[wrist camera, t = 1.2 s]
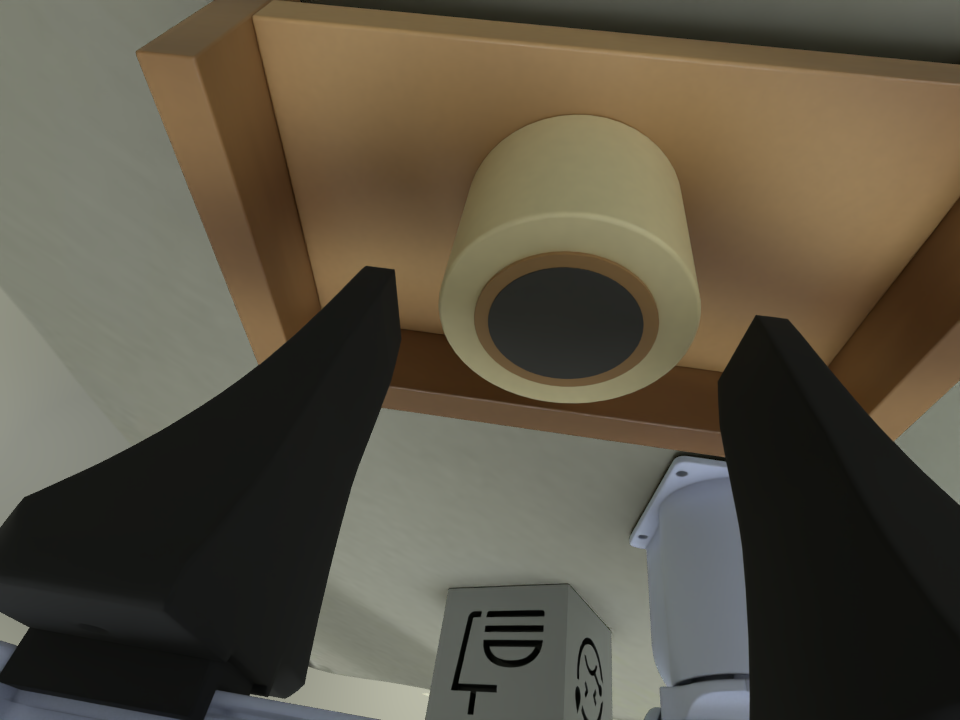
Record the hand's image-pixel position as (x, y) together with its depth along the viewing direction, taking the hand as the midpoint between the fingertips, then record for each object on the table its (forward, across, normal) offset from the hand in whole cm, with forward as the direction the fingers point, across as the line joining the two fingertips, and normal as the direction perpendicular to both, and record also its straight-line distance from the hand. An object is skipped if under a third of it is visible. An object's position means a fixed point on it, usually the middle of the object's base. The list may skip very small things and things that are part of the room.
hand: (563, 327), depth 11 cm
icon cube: (+7, -3, +39) cm, 39 cm away
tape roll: (+4, 0, 0) cm, 4 cm away
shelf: (+7, 0, +1) cm, 7 cm away
